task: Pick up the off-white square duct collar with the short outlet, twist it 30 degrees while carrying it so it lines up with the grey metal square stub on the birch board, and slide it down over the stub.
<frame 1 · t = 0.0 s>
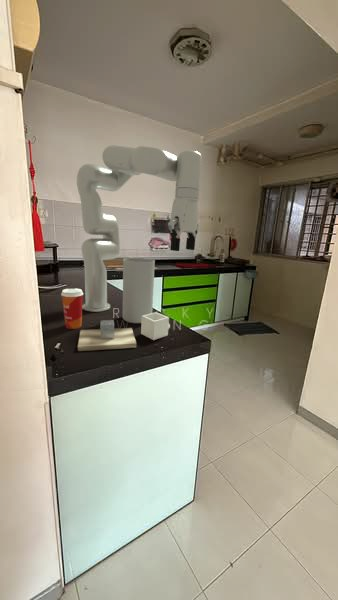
hand: (182, 250, 86), 31 cm above the worktop, tool pointing down, fingers open, 9 cm apart
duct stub: (107, 329, 85), on the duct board, point 4 cm above the worktop
paper cup: (73, 326, 96), on the worktop
duct collar: (154, 334, 93), on the worktop
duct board: (107, 340, 86), on the worktop
cylinder vase: (137, 319, 108), on the worktop
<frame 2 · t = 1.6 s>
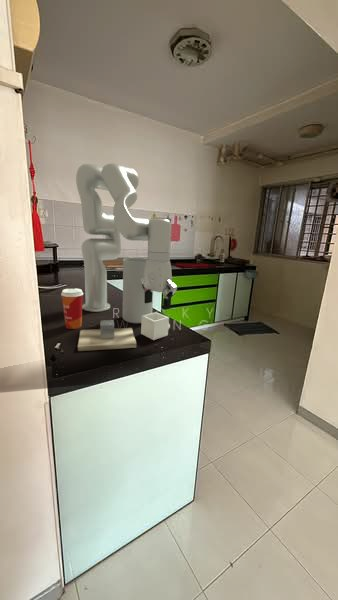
hand: (157, 305, 90), 11 cm above the worktop, tool pointing down, fingers open, 9 cm apart
nothing on the worktop moved.
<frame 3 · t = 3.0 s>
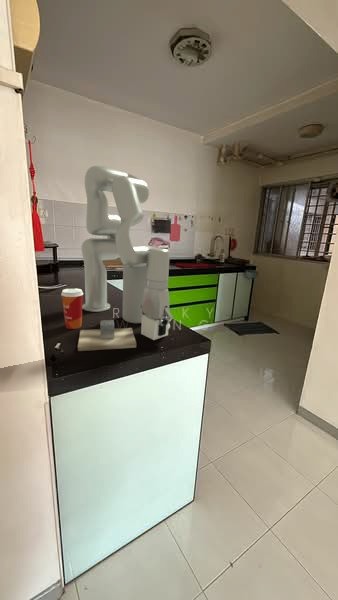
hand: (154, 331, 93), 1 cm above the worktop, tool pointing down, fingers closed on duct collar, 7 cm apart
duct collar: (154, 334, 93), on the worktop, touching gripper
everything else where it was.
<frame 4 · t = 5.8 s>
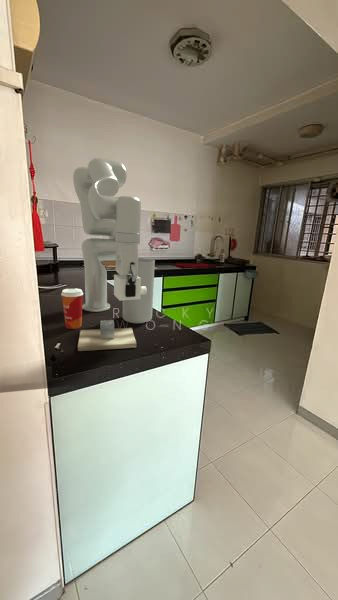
hand: (126, 293, 84), 16 cm above the worktop, tool pointing down, fingers closed on duct collar, 7 cm apart
duct collar: (126, 296, 85), point 15 cm above the worktop, touching gripper
everything else where it was.
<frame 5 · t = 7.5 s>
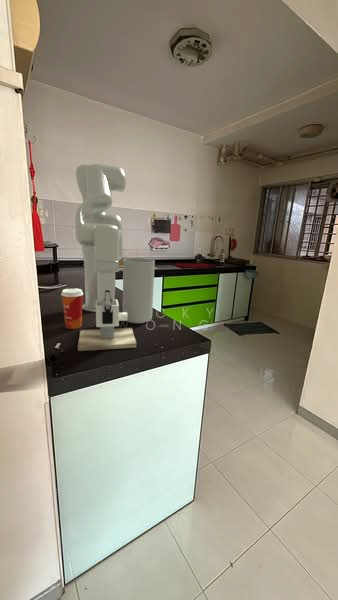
hand: (107, 318, 84), 8 cm above the worktop, tool pointing down, fingers closed on duct collar, 7 cm apart
duct collar: (107, 322, 84), point 7 cm above the worktop, touching gripper
everything else where it was.
when the fingers open (4 cm above the worktop, at t = 8.8 s): duct collar stays where it is, resting on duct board.
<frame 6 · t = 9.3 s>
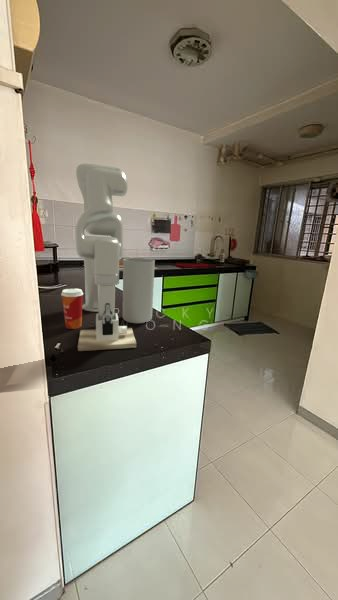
hand: (107, 328, 85), 4 cm above the worktop, tool pointing down, fingers open, 9 cm apart
duct collar: (107, 336, 86), point 1 cm above the worktop, touching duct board
everything else where it was.
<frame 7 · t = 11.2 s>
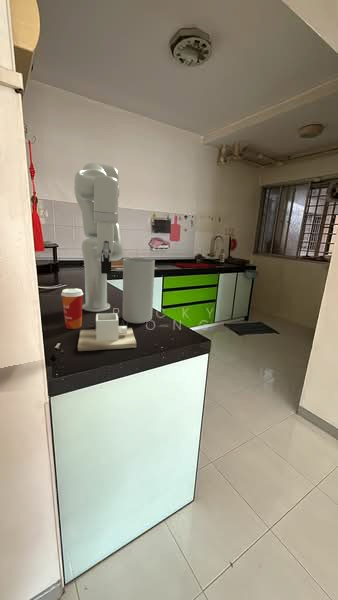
hand: (105, 270, 88), 23 cm above the worktop, tool pointing down, fingers open, 9 cm apart
nothing on the worktop moved.
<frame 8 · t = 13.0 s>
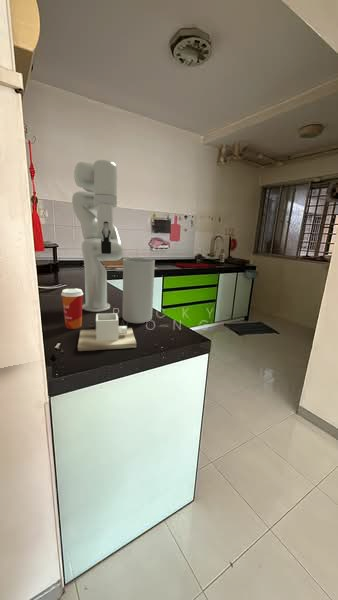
hand: (105, 252, 91), 28 cm above the worktop, tool pointing down, fingers open, 9 cm apart
nothing on the worktop moved.
at the end: duct collar 0.1 cm off-centre on the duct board, point 1.5 cm above the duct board's base; duct collar tilted 0°; the gripper is holding nothing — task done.
